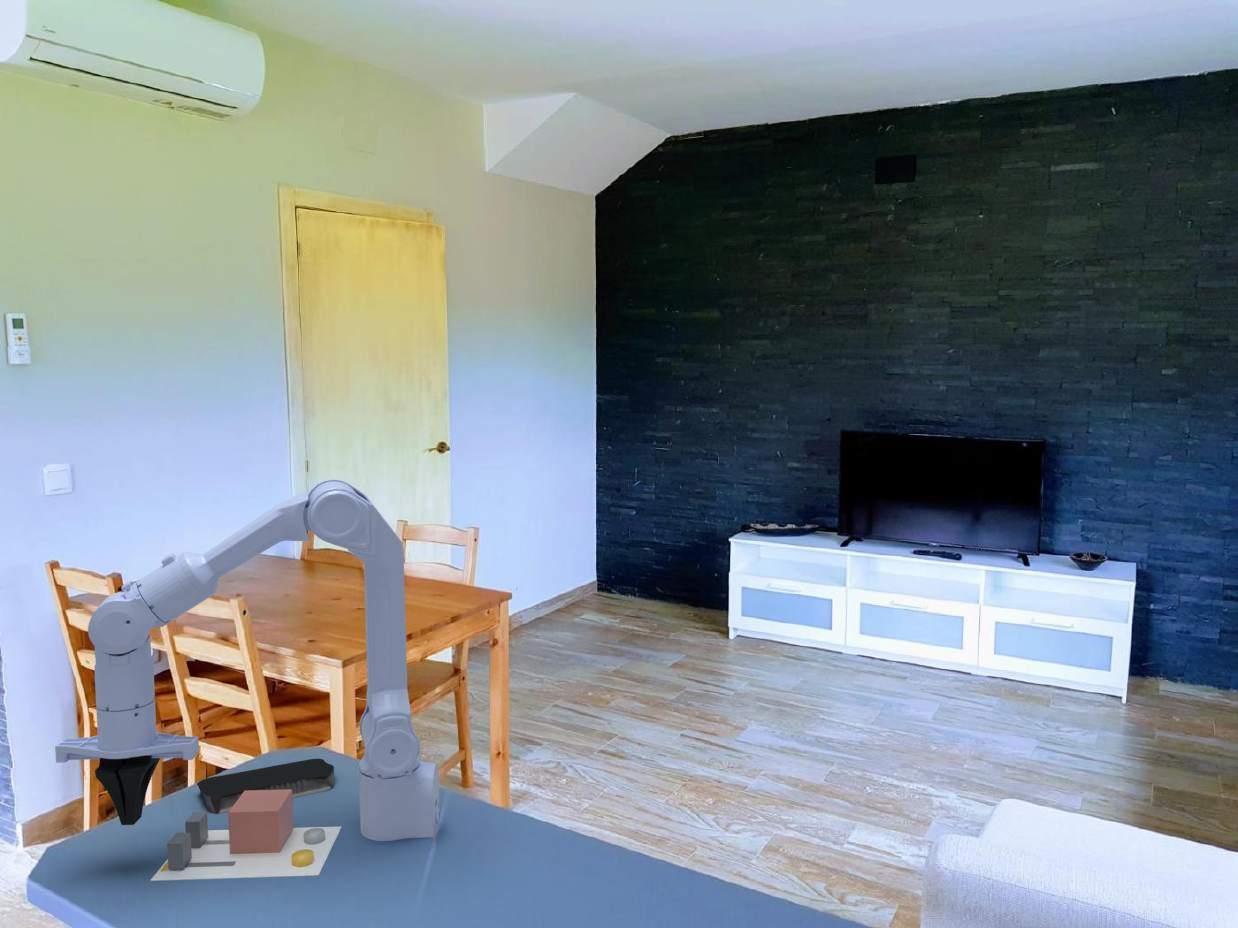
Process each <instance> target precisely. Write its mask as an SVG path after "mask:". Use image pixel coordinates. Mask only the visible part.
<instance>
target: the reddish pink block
mask: <svg viewBox="0 0 1238 928" xmlns="http://www.w3.org/2000/svg"><path fill="white" fill-rule="evenodd" d="M293 807H294V806H293V798H292V789H286V790H248V791H244V792H243V794H242V795H241V796H240V798H239V799H238V800H237V802H236V803H235V804H234V806H233V807H232V808H231V810H230V811H229V812H227V814H228V830H229V843H230V854H251V853H280V851H281V849H282V848H283V846H284V844H285V843H286V841H287V839H288V837H289V836H290V834H291V832H292V830H293V828H294V808H293Z"/></svg>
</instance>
